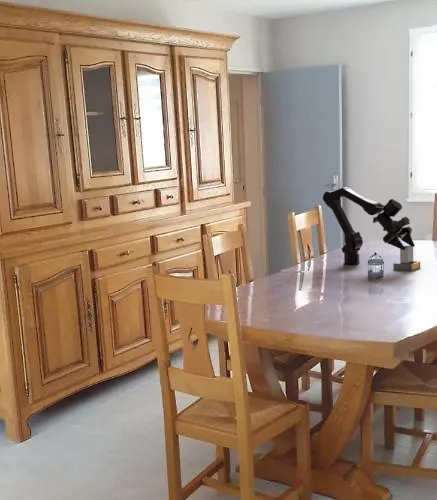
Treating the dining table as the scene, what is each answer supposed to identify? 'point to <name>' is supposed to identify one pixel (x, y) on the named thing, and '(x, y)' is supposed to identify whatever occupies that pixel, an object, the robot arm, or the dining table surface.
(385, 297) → the dining table surface
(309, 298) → the dining table surface
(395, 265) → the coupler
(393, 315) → the dining table surface
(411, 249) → the grey upright block
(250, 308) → the dining table surface
